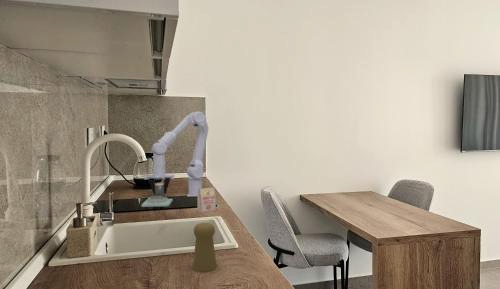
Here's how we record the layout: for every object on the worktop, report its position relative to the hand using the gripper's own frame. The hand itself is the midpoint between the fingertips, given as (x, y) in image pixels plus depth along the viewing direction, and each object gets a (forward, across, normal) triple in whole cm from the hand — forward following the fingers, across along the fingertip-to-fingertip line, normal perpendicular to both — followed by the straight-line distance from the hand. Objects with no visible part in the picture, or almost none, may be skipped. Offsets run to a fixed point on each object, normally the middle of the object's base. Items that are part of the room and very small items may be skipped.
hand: (159, 193), depth 173 cm
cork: (+3, +28, -89) cm, 93 cm away
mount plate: (+3, +1, -11) cm, 11 cm away
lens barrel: (+3, 0, 0) cm, 3 cm away
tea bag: (+3, +25, -29) cm, 38 cm away
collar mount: (+3, +1, -11) cm, 11 cm away
